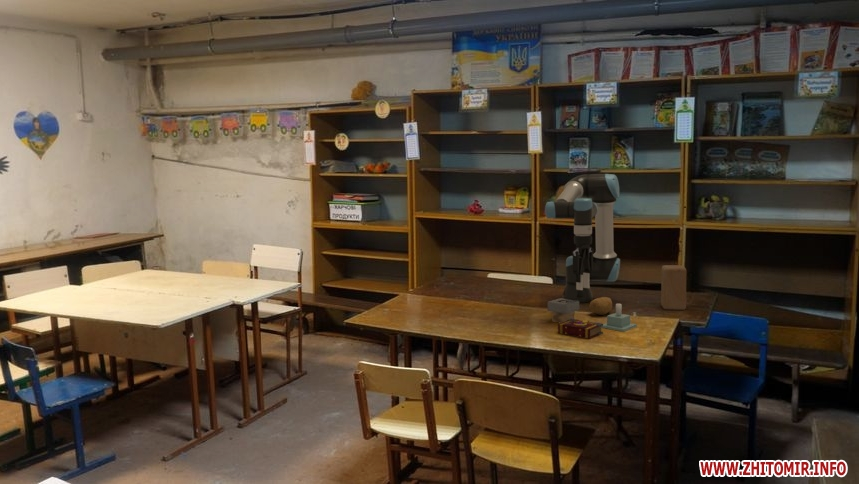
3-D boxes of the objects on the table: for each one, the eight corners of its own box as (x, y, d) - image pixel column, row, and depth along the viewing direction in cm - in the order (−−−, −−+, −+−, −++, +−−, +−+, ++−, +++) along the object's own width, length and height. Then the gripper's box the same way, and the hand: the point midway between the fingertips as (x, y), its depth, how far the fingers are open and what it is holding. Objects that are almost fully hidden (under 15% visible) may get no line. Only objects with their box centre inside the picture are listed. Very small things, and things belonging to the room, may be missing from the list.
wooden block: (686, 310, 310) (686, 268, 308) (663, 309, 312) (664, 268, 310) (682, 305, 320) (683, 265, 317) (660, 305, 322) (661, 264, 320)
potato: (617, 312, 309) (617, 296, 308) (604, 318, 298) (604, 301, 297) (598, 310, 315) (598, 293, 314) (584, 315, 305) (584, 298, 304)
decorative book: (589, 340, 265) (589, 327, 264) (555, 333, 276) (554, 322, 275) (603, 334, 273) (603, 322, 273) (568, 328, 284) (568, 317, 284)
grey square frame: (547, 310, 295) (547, 301, 295) (560, 306, 302) (560, 298, 302) (566, 313, 288) (566, 304, 288) (579, 309, 295) (579, 301, 295)
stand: (552, 321, 296) (552, 301, 295) (561, 318, 301) (561, 299, 300) (565, 323, 291) (565, 303, 290) (574, 320, 296) (574, 301, 295)
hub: (600, 327, 283) (600, 304, 282) (613, 322, 291) (613, 300, 289) (623, 331, 275) (623, 308, 274) (636, 326, 283) (637, 303, 282)
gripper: (579, 237, 272) (578, 293, 274) (601, 233, 284) (601, 286, 287) (563, 236, 277) (563, 290, 280) (586, 232, 289) (586, 284, 292)
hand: (582, 288), depth 283 cm, fingers open, 4 cm apart
